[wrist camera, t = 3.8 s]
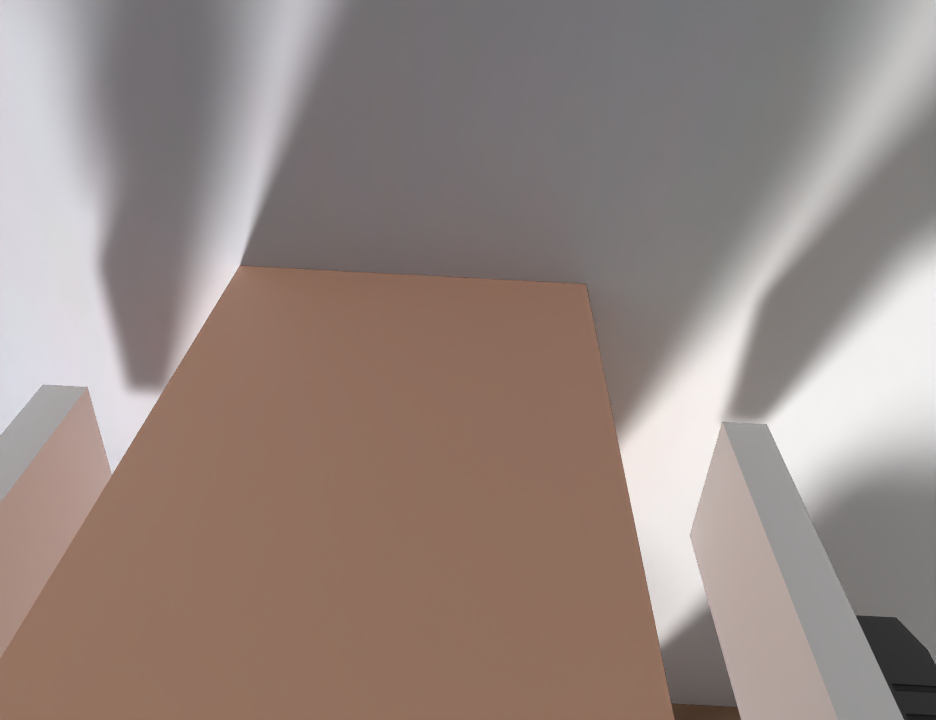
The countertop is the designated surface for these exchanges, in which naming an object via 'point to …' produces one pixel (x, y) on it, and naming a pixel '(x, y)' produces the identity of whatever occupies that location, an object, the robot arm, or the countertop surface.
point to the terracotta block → (359, 521)
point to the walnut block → (704, 712)
